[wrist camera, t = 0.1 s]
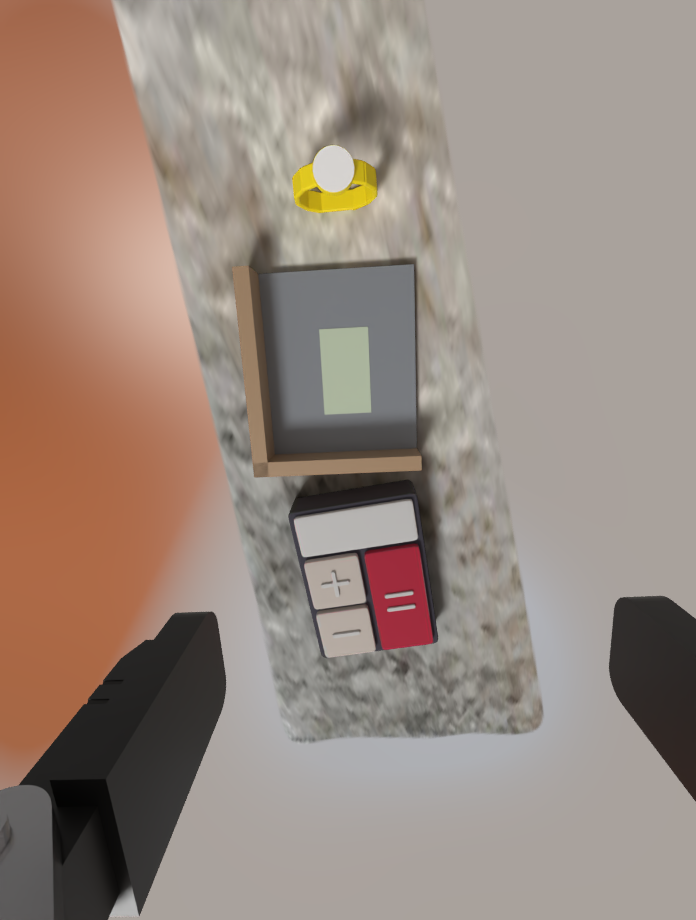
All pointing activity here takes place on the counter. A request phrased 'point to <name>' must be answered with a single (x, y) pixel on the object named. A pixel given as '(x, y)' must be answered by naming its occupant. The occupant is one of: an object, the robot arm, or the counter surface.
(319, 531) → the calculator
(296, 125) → the counter surface
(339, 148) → the watch
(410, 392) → the corner tray
